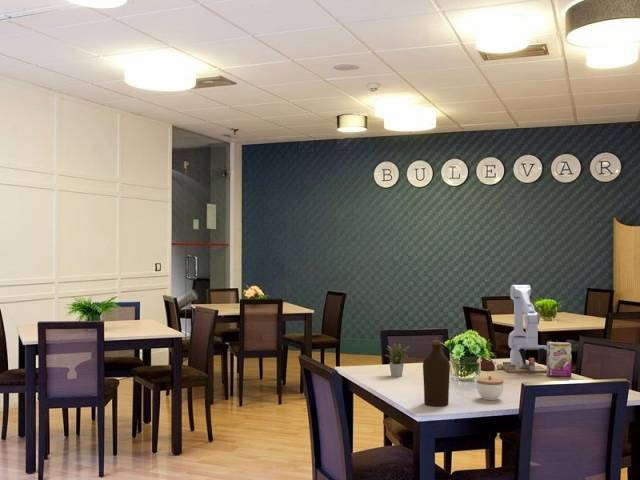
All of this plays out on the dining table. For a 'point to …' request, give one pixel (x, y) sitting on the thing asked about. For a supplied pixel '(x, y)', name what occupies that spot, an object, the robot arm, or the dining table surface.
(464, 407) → the dining table surface
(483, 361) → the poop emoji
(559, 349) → the candy bar box
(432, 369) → the olive oil
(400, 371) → the house plant
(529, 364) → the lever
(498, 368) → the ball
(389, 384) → the dining table surface
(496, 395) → the lidded jar
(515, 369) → the board
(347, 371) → the dining table surface
